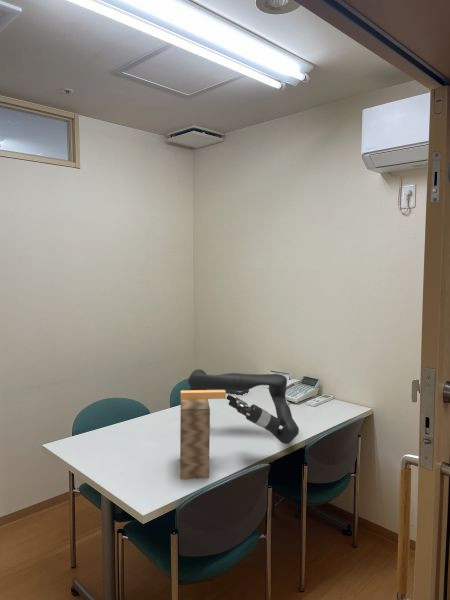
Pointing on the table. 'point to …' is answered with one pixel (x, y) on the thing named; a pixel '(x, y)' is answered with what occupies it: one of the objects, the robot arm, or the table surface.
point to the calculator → (237, 392)
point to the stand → (194, 438)
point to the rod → (203, 394)
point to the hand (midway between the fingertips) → (228, 399)
